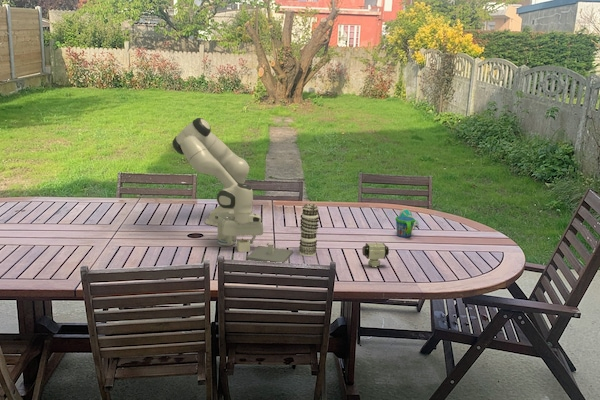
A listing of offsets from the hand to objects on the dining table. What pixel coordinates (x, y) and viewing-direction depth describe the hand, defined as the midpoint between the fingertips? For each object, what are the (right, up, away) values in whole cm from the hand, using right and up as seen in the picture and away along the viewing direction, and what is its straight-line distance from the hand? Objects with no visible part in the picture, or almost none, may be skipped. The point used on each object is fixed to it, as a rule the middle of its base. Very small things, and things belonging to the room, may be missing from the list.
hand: (241, 243), depth 298 cm
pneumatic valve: (+64, -10, -11) cm, 66 cm away
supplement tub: (-9, -1, +9) cm, 13 cm away
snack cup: (+87, +1, +39) cm, 95 cm away
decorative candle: (+32, -5, +2) cm, 33 cm away
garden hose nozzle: (+93, +7, +62) cm, 112 cm away
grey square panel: (+14, -6, -5) cm, 16 cm away
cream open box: (0, -3, +1) cm, 3 cm away
